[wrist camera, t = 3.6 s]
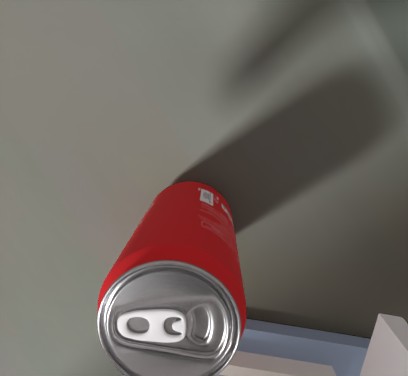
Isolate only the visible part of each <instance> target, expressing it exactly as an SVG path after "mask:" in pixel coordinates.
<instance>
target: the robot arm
mask: <svg viewBox="0 0 408 376" xmlns="http://www.w3.org/2000/svg"><path fill="white" fill-rule="evenodd" d="M360 376H408V324H407V323H406V321H405V320H404V319H403V318H402V317H398V316H392V315H386V314H380V313H379V315H378V318H377V321H376V325H375V328H374V331H373V334H372V337H371V341H370V344H369V347H368V350H367V353H366V357H365V360H364V363H363V366H362V370H361V373H360Z"/></svg>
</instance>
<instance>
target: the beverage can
mask: <svg viewBox="0 0 408 376" xmlns="http://www.w3.org/2000/svg"><path fill="white" fill-rule="evenodd" d="M246 315H247V314H246V301H245V295H244V288H243V282H242V276H241V269H240V263H239V257H238V250H237V244H236V238H235V232H234V225H233V219H232V214H231V210H230V207H229V205H228V203H227V202H226V200H225V199H224V197H223V196H222V195H221V194H220V193H219V192H218V191H216V190H215V189H213V188H212V187H210V186H208V185H206V184H203V183H199V182H191V181H189V182H180V183H176V184H174V185H171V186H169V187H167V188H166V189H164V190H163V191H162V192H161V193H160V194H159V195H158V196H157V197H156V198H155V200H154V201H153V203H152V204H151V206H150V208H149V209H148V211H147V213H146V214H145V216H144V217H143V219H142V221H141V222H140V224H139V225H138V227H137V229H136V230H135V232H134V233H133V235H132V237H131V238H130V240H129V241H128V243H127V245H126V246H125V248H124V250H123V251H122V253H121V254H120V256H119V258H118V259H117V261H116V262H115V264H114V266H113V267H112V269H111V270H110V272H109V274H108V275H107V277H106V279H105V281H104V283H103V285H102V288H101V291H100V294H99V300H98V318H97V328H98V335H99V339H100V342H101V345H102V347H103V349H104V352H105V353H106V355H107V357H108V358H109V359H110V361H111V362H112V363H113V364H114V365H115V367H116V368H117V369H118V370H120V371H121V372H122V373H123V374H124V375H125V376H217V375H218V374H219V373H220V372H222V371H223V370H224V369H225V368H226V366H227V365H228V364H229V363H230V361H231V360H232V358H233V357H234V355H235V353H236V351H237V348H238V345H239V342H240V339H241V337H242V335H243V332H244V328H245V324H246Z"/></svg>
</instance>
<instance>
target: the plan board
mask: <svg viewBox="0 0 408 376" xmlns="http://www.w3.org/2000/svg"><path fill="white" fill-rule="evenodd" d="M370 341H371V339H369V338H363V337H357V336H350V335H344V334H338V333H332V332H326V331H320V330H313V329H307V328H301V327H295V326H289V325H283V324H276V323H270V322H264V321H258V320H252V319H246V324H245V328H244V332H243V335H242V337H241V339H240V342H239V345H238V348H237V351H236V353H235V355H234V357H233V358H232V360H231V361H230V363H229V364H228V365H227V366H226V368H225V369H224V370H223V371H222V372H220V373H219V374H218V375H217V376H360V373H361V370H362V366H363V363H364V360H365V357H366V353H367V350H368V347H369V344H370Z"/></svg>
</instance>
